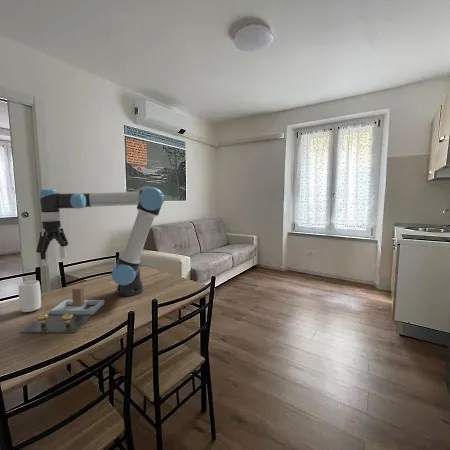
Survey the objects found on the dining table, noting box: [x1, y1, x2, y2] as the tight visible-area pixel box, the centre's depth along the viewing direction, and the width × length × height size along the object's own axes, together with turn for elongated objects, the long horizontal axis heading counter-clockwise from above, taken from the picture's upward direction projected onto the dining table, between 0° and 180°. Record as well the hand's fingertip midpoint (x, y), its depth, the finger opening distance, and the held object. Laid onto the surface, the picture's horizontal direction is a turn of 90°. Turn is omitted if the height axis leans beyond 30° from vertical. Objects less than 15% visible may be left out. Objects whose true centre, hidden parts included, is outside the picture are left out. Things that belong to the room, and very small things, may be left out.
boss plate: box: [20, 312, 93, 334], centre depth 109 cm, size 22×14×5 cm, turn 92°
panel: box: [50, 286, 105, 315], centre depth 123 cm, size 12×20×11 cm, turn 92°
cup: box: [18, 279, 42, 313], centre depth 120 cm, size 8×8×14 cm
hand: (54, 261), depth 125 cm, fingers open, 13 cm apart
